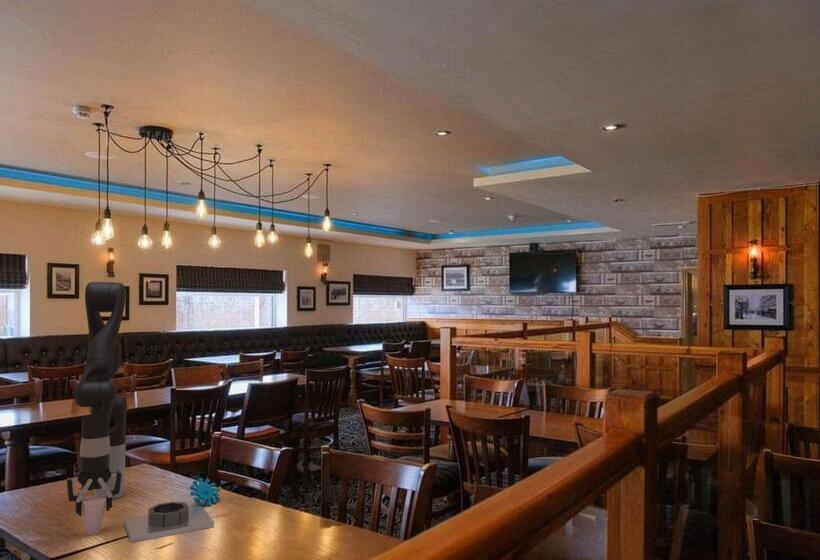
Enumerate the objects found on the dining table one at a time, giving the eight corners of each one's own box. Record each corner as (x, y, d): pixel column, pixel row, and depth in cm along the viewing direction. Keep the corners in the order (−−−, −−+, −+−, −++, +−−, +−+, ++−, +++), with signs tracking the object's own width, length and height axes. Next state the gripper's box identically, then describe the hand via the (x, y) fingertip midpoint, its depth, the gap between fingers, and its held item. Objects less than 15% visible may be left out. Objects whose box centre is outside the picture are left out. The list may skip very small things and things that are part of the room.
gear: (196, 505, 188) (187, 477, 194) (187, 516, 190) (179, 488, 196) (227, 501, 197) (218, 475, 202) (218, 512, 199) (209, 485, 204)
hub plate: (123, 523, 177) (123, 506, 177) (201, 510, 188) (201, 494, 189) (130, 542, 163) (130, 523, 163) (213, 527, 175) (214, 509, 175)
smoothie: (111, 530, 172) (112, 480, 173) (92, 538, 166) (93, 486, 167) (93, 527, 174) (94, 478, 175) (75, 535, 168) (76, 484, 169)
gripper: (121, 446, 178) (120, 504, 177) (65, 453, 170) (63, 513, 170) (124, 452, 172) (123, 512, 171) (66, 459, 164) (64, 521, 163)
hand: (93, 512), depth 170 cm, fingers closed on smoothie, 6 cm apart
